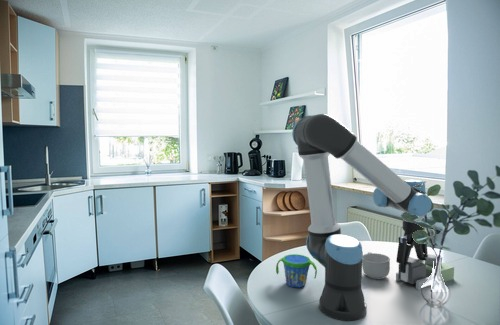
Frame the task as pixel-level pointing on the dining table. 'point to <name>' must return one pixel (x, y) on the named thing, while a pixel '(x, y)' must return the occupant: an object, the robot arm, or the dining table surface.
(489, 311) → the dining table surface
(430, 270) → the green and grey blocks
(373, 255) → the teacup
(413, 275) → the dark grey stepped block
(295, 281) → the snack cup
